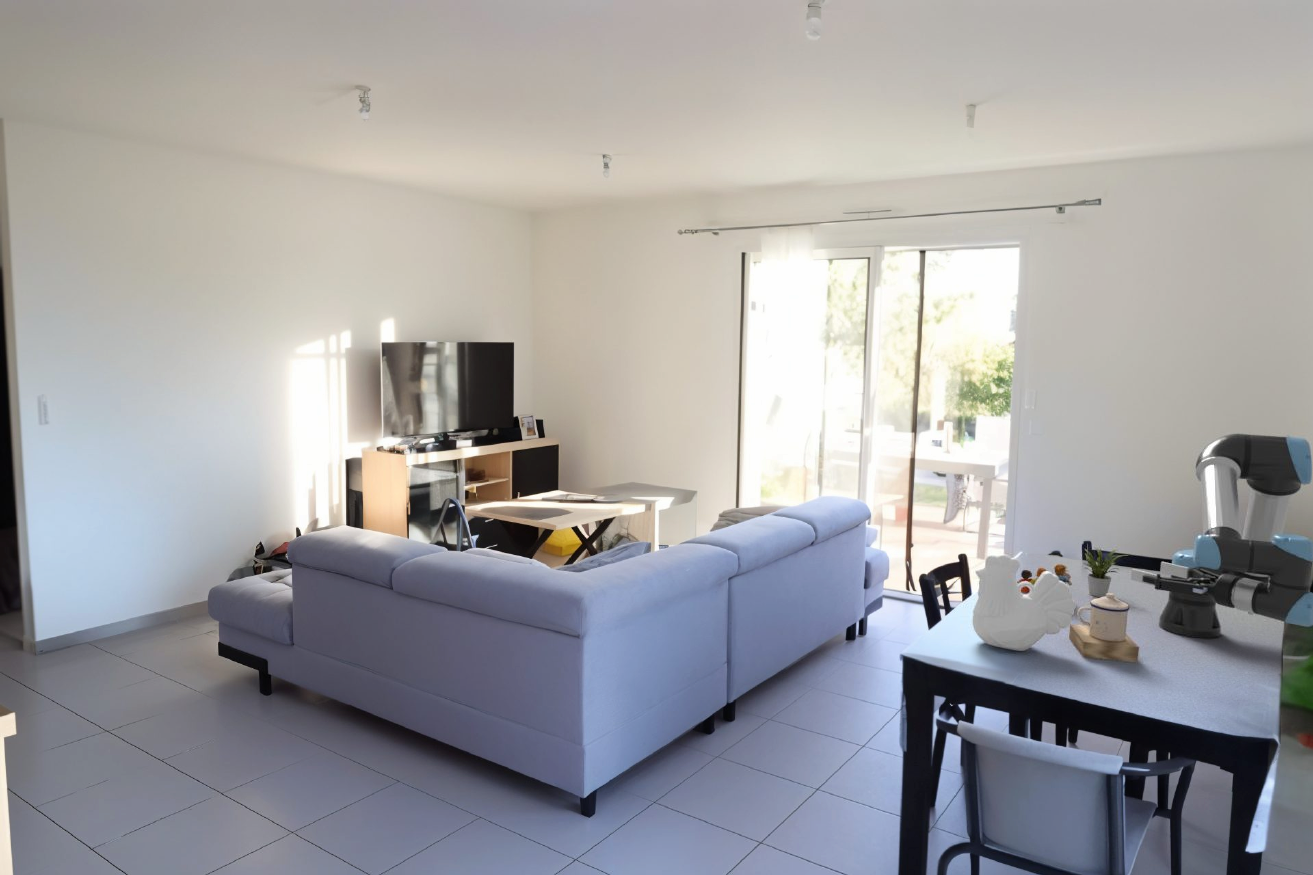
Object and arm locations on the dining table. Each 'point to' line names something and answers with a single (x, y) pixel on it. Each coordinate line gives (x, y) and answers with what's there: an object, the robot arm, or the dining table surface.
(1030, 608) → the decorative rooster
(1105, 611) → the teacup with lid
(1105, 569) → the house plant
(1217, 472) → the robot arm
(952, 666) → the dining table surface
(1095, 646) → the oak slab
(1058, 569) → the doll family
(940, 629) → the dining table surface
